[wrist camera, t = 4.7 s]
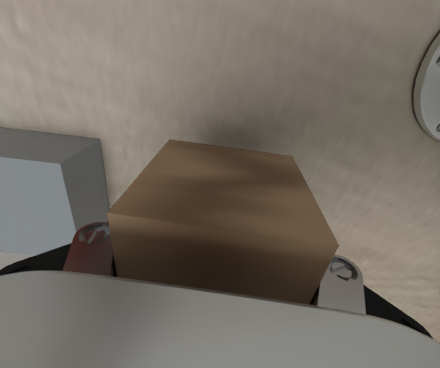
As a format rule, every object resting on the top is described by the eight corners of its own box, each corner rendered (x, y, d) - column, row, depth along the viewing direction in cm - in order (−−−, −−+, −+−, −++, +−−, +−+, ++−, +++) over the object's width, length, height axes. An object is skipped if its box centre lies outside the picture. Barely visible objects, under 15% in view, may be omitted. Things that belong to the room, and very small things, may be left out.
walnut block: (292, 156, 11) (338, 245, 6) (265, 247, 14) (281, 360, 9) (169, 139, 11) (106, 213, 6) (169, 233, 14) (126, 337, 9)
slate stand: (99, 139, 22) (59, 163, 17) (111, 221, 27) (82, 260, 22) (-6, 126, 22) (-80, 147, 17) (24, 212, 27) (-26, 249, 21)
